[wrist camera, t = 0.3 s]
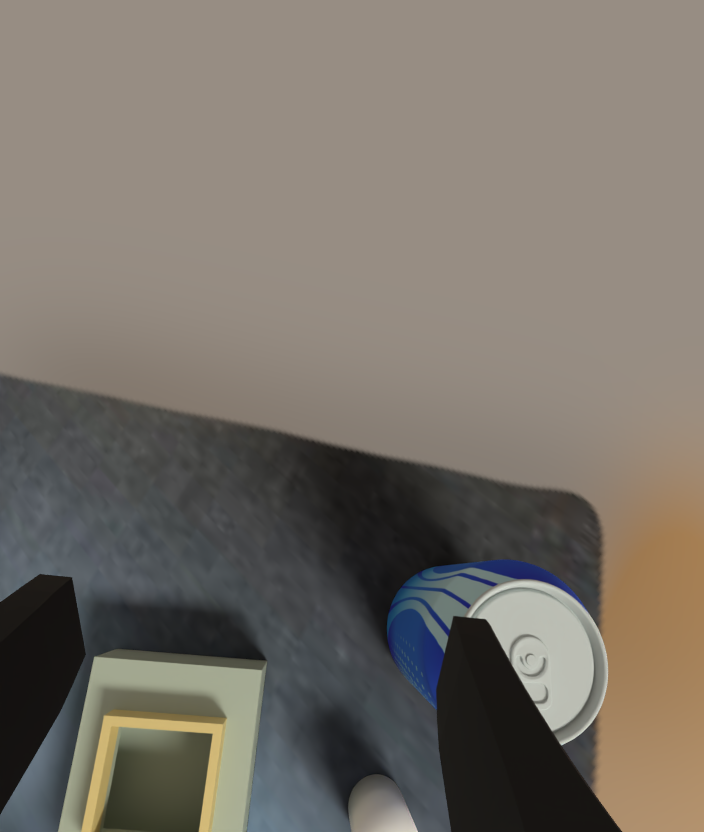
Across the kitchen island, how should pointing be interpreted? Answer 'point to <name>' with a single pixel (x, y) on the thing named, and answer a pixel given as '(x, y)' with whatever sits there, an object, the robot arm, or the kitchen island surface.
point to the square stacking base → (165, 744)
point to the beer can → (506, 635)
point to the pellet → (378, 807)
